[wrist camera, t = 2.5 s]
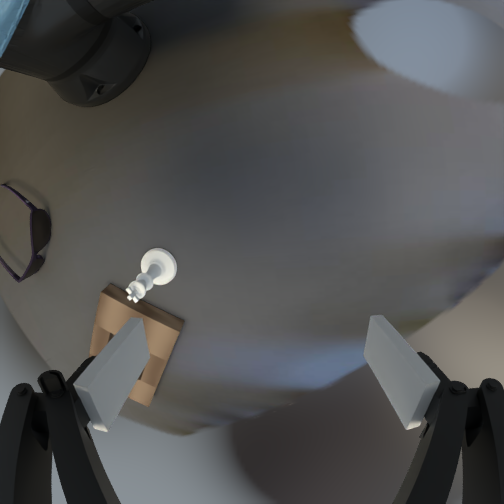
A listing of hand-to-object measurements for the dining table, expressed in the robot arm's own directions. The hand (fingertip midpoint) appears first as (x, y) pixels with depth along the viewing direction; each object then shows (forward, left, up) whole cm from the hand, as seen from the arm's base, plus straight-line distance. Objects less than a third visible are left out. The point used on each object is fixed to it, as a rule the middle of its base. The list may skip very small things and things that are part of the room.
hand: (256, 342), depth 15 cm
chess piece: (-10, -8, -21) cm, 24 cm away
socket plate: (-10, -23, -20) cm, 32 cm away
